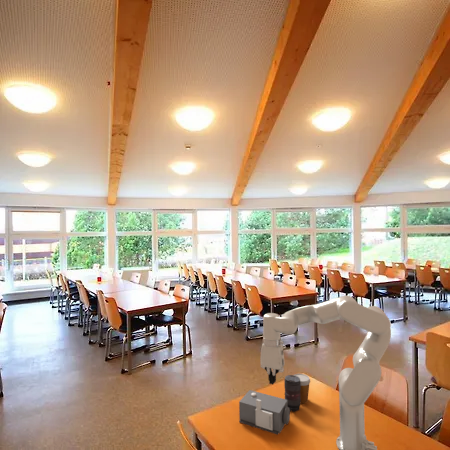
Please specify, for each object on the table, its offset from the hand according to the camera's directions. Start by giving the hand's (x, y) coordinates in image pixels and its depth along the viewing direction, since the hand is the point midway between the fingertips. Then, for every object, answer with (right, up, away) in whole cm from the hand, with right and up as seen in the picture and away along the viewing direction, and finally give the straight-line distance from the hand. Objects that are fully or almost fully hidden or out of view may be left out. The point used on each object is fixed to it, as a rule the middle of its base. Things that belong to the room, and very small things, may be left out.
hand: (272, 382), depth 137 cm
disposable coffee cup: (+20, -23, +25) cm, 39 cm away
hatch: (-3, -21, +2) cm, 22 cm away
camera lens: (+13, -23, +19) cm, 32 cm away
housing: (-3, -23, +9) cm, 24 cm away
